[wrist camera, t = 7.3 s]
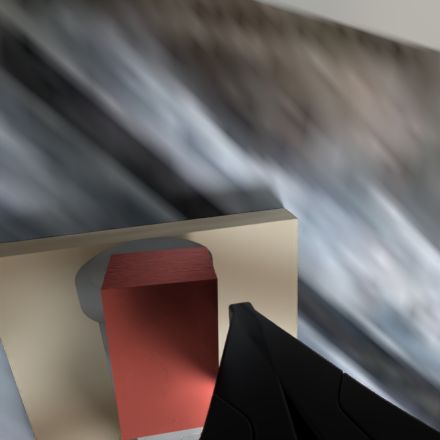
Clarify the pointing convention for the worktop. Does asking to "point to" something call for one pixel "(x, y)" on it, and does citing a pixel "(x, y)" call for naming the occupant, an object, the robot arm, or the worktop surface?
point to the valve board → (94, 314)
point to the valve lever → (162, 340)
